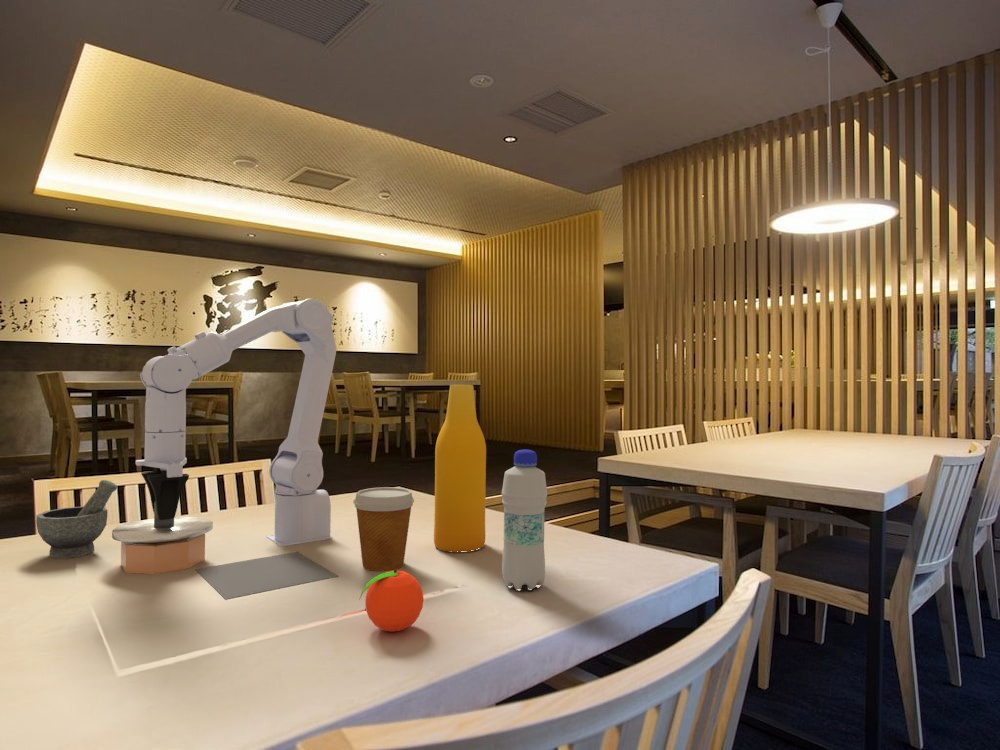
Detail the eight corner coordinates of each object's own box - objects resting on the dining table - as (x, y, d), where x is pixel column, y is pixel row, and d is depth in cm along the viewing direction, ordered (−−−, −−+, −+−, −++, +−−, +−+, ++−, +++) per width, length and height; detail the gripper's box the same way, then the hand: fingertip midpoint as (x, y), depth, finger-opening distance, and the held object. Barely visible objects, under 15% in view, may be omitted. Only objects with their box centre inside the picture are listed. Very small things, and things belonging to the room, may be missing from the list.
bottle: (551, 582, 92) (553, 448, 92) (539, 597, 86) (541, 453, 86) (508, 576, 94) (510, 445, 94) (493, 591, 88) (495, 450, 88)
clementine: (371, 649, 69) (372, 585, 69) (347, 628, 75) (347, 569, 75) (433, 632, 74) (434, 572, 74) (406, 614, 79) (407, 558, 79)
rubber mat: (297, 554, 105) (297, 551, 105) (338, 579, 92) (338, 575, 92) (195, 572, 95) (195, 569, 95) (225, 602, 82) (225, 599, 82)
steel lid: (203, 517, 108) (203, 490, 108) (221, 534, 97) (221, 503, 97) (108, 528, 100) (109, 498, 100) (116, 547, 88) (116, 514, 88)
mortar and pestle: (30, 564, 97) (31, 488, 97) (40, 549, 105) (41, 479, 106) (114, 555, 103) (115, 483, 103) (117, 542, 111) (118, 475, 111)
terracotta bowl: (192, 551, 106) (193, 524, 106) (210, 567, 97) (210, 538, 97) (117, 562, 99) (118, 534, 99) (129, 580, 90) (129, 550, 90)
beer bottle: (472, 556, 105) (474, 385, 105) (424, 549, 109) (426, 384, 109) (493, 542, 114) (495, 385, 114) (448, 537, 117) (450, 384, 117)
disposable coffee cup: (424, 563, 100) (425, 490, 100) (390, 581, 92) (391, 500, 92) (376, 556, 104) (377, 485, 104) (339, 571, 96) (340, 494, 96)
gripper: (128, 429, 101) (127, 512, 101) (145, 436, 90) (144, 529, 90) (176, 427, 106) (175, 506, 106) (198, 433, 94) (196, 522, 94)
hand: (164, 516), depth 98 cm, fingers closed on steel lid, 3 cm apart
